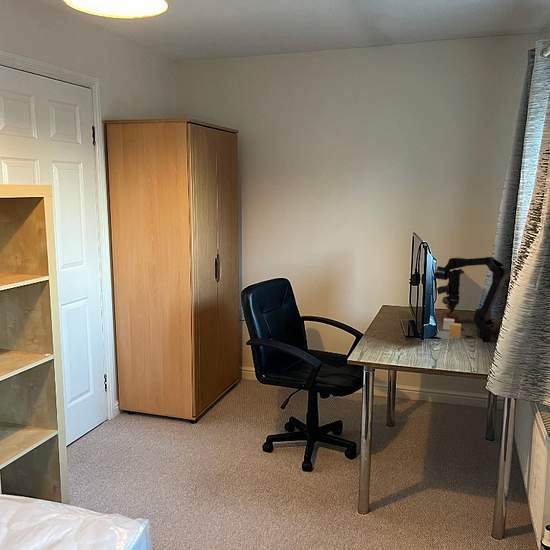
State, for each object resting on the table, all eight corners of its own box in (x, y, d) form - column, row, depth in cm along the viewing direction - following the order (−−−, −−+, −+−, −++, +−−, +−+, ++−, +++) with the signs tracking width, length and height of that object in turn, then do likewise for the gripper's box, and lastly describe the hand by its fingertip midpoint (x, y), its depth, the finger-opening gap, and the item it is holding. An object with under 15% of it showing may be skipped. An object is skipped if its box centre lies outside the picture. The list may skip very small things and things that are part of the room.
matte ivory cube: (453, 329, 304) (454, 319, 303) (453, 332, 299) (454, 321, 298) (443, 328, 306) (444, 318, 305) (442, 331, 301) (443, 320, 300)
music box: (458, 325, 316) (457, 290, 313) (438, 324, 320) (437, 289, 318) (460, 319, 330) (460, 286, 327) (441, 319, 334) (440, 286, 332)
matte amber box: (460, 335, 288) (461, 323, 287) (460, 337, 283) (461, 326, 282) (449, 334, 290) (450, 322, 289) (449, 336, 284) (449, 324, 284)
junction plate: (466, 339, 284) (466, 330, 284) (444, 341, 279) (444, 332, 278) (447, 332, 297) (448, 324, 296) (426, 334, 291) (426, 326, 291)
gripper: (438, 277, 305) (436, 305, 307) (437, 282, 287) (435, 312, 290) (460, 279, 301) (457, 307, 304) (460, 284, 284) (458, 314, 286)
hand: (451, 310), depth 296 cm, fingers open, 9 cm apart
